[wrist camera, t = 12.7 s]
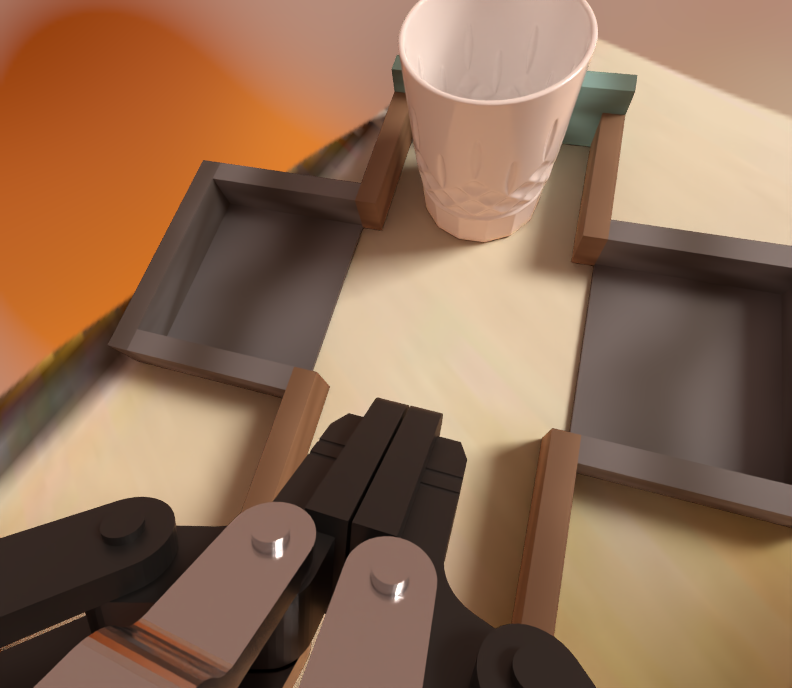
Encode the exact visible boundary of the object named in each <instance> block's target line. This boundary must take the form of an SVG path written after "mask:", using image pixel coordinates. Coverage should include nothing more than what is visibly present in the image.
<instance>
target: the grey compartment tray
mask: <svg viewBox="0 0 792 688" xmlns="http://www.w3.org/2000/svg"><path fill="white" fill-rule="evenodd" d="M392 76H393V82H394V90H395V92H394V95H393V97H392V100H391V103H390V106H389V108H388V111H387V114H386V117H385V119H384V122H383V125H382V128H381V130H380V133H379V136H378V138H377V141H376V144H375V147H374V149H373V152H372V155H371V158H370V160H369V163H368V166H367V169H366V171H365V174H364V177H363V180H362V182H361V183H356V182H349V181H342V180H336V179H329V178H322V177H315V176H308V175H301V174H294V173H288V172H280V171H274V170H267V169H259V168H253V167H246V166H239V165H232V164H225V163H219V162H212V161H205V160H203V162H202V164H201V166H200V167H199V169H198V171H197V173H196V175H195V177H194V179H193V181H192V183H191V185H190V187H189V189H188V191H187V193H186V195H185V197H184V199H183V200H182V202H181V204H180V206H179V208H178V210H177V212H176V214H175V216H174V218H173V220H172V222H171V223H170V226H169V227H168V229H167V231H166V233H165V235H164V237H163V239H162V241H161V243H160V245H159V247H158V249H157V251H156V253H155V254H154V256H153V258H152V260H151V262H150V264H149V266H148V268H147V270H146V272H145V274H144V276H143V278H142V280H141V281H140V283H139V285H138V287H137V289H136V291H135V293H134V295H133V297H132V299H131V301H130V303H129V305H128V306H127V308H126V310H125V312H124V314H123V316H122V318H121V320H120V322H119V324H118V326H117V328H116V330H115V332H114V334H113V335H112V337H111V339H110V341H109V343H108V346H110V347H112V348H114V349H116V350H117V351H119V352H121V353H123V354H125V355H127V356H129V357H131V358H133V359H135V360H137V361H139V362H143V363H147V364H151V365H155V366H159V367H163V368H167V369H171V370H175V371H179V372H182V373H186V374H190V375H194V376H198V377H202V378H206V379H210V380H214V381H218V382H222V383H226V384H230V385H233V386H237V387H241V388H245V389H249V390H253V391H257V392H261V393H265V394H269V395H273V396H277V397H281V398H282V401H281V404H280V407H279V409H278V412H277V415H276V418H275V420H274V423H273V426H272V428H271V431H270V434H269V437H268V439H267V442H266V445H265V448H264V450H263V453H262V456H261V459H260V461H259V464H258V467H257V470H256V472H255V475H254V478H253V480H252V483H251V486H250V489H249V491H248V494H247V497H246V500H245V502H244V505H243V508H242V511H241V513H242V512H244V511H245V510H247V509H249V508H251V507H253V506H256V505H259V504H263V503H268V502H273V500H274V499H275V498H276V496H277V495H278V494H279V492H280V491H281V490H282V488H283V487H284V486H285V484H286V483H287V482H288V480H289V479H290V478H291V476H292V475H293V474H294V472H295V471H296V470H297V468H298V467H299V466H300V464H301V463H302V462H303V460H304V459H305V458H306V456H307V454H308V451H309V448H310V445H311V442H312V439H313V436H314V433H315V430H316V427H317V424H318V421H319V418H320V415H321V412H322V409H323V406H324V403H325V400H326V397H327V394H328V391H329V388H330V386H329V385H328V384H327V383H326V382H325V381H324V379H323V378H322V377H321V376H320V375H319V374H318V373H317V372H315V371H313V369H314V366H315V363H316V360H317V357H318V355H319V352H320V349H321V346H322V343H323V340H324V337H325V335H326V332H327V329H328V326H329V323H330V320H331V317H332V315H333V312H334V309H335V306H336V303H337V300H338V297H339V295H340V292H341V289H342V286H343V283H344V280H345V277H346V275H347V272H348V269H349V266H350V263H351V260H352V257H353V255H354V252H355V249H356V246H357V243H358V240H359V237H360V235H361V232H362V229H363V227H364V228H370V229H376V230H382V229H383V226H384V223H385V220H386V217H387V214H388V211H389V208H390V205H391V202H392V199H393V195H394V192H395V189H396V186H397V183H398V180H399V177H400V174H401V171H402V168H403V165H404V162H405V159H406V156H407V153H408V150H409V147H410V144H411V141H412V132H411V125H410V119H409V112H408V106H407V100H406V93H405V87H404V81H403V75H402V68H401V62H400V56H399V55H397V56H396V59H395V62H394V64H393V67H392ZM636 81H637V75H630V74H618V73H606V72H594V71H587V72H586V75H585V78H584V81H583V84H582V87H581V89H580V92H579V95H578V98H577V101H576V104H575V107H574V110H573V113H572V116H571V118H570V121H569V124H568V127H567V130H566V133H565V136H564V139H563V142H562V144H571V145H580V146H588V147H590V151H589V157H588V163H587V170H586V176H585V182H584V188H583V194H582V200H581V206H580V212H579V218H578V224H577V230H576V236H575V242H574V248H573V254H572V260H571V262H574V263H580V264H586V265H592V266H594V268H593V275H592V282H591V289H590V296H589V303H588V309H587V316H586V323H585V330H584V337H583V344H582V351H581V357H580V364H579V371H578V378H577V385H576V392H575V399H574V405H573V412H572V419H571V426H570V432H567V431H562V430H558V429H554V428H552V429H551V430H550V431H549V432H548V433H547V434H546V435H545V436H544V437H543V438H542V442H541V448H540V454H539V460H538V466H537V472H536V478H535V484H534V490H533V496H532V502H531V508H530V514H529V520H528V526H527V532H526V538H525V544H524V550H523V557H522V563H521V569H520V575H519V581H518V587H517V593H516V599H515V605H514V611H513V617H512V623H511V624H517V623H518V624H527V625H530V626H534V627H537V628H539V629H541V630H543V631H545V632H547V633H549V634H550V635H552V636H554V631H555V624H556V617H557V610H558V602H559V595H560V588H561V580H562V573H563V566H564V558H565V551H566V544H567V537H568V529H569V522H570V515H571V507H572V500H573V493H574V485H575V478H576V473H579V474H583V475H587V476H591V477H595V478H599V479H603V480H606V481H610V482H614V483H618V484H622V485H626V486H630V487H634V488H638V489H642V490H646V491H650V492H654V493H658V494H661V495H665V496H669V497H673V498H677V499H681V500H685V501H689V502H693V503H697V504H701V505H705V506H709V507H712V508H716V509H720V510H724V511H728V512H732V513H736V514H740V515H744V516H748V517H752V518H756V519H760V520H764V521H767V522H771V523H775V524H779V525H783V526H787V527H791V528H792V246H788V245H781V244H775V243H768V242H761V241H754V240H747V239H740V238H733V237H727V236H720V235H713V234H706V233H699V232H692V231H685V230H679V229H672V228H665V227H658V226H651V225H644V224H637V223H630V222H624V221H617V220H611V215H612V208H613V201H614V193H615V186H616V179H617V172H618V164H619V157H620V150H621V142H622V135H623V128H624V120H625V114H626V112H627V110H628V107H629V105H630V103H631V100H632V98H633V95H634V93H635V89H636ZM241 513H240V514H241Z"/></svg>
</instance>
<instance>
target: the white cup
mask: <svg viewBox="0 0 792 688" xmlns="http://www.w3.org/2000/svg"><path fill="white" fill-rule="evenodd" d="M597 37H598V28H597V21H596V18H595V15H594V12H593V10H592V9H591V7H590V5H589V4H588V3H587V1H586V0H419V1H418V2H417V3H416V4H415V5H414V7H413V8H412V9H411V10H410V12H409V13H408V14H407V16H406V18H405V19H404V22H403V24H402V26H401V29H400V32H399V38H398V50H399V56H400V62H401V68H402V75H403V81H404V87H405V93H406V100H407V106H408V112H409V119H410V125H411V132H412V138H413V144H414V148H415V153H416V159H417V164H418V169H419V172H420V176H421V179H422V183H423V189H424V197H425V204H426V208H427V210H428V212H429V213H430V215H431V216H432V218H433V219H434V221H435V223H436V224H437V226H438V227H440V228H441V229H443V230H445V231H446V232H448V233H450V234H452V235H453V236H455V237H457V238H458V239H464V240H472V241H480V242H487V241H491V240H495V239H499V238H503V237H507V236H510V235H512V234H513V233H514V232H516V231H517V230H518V229H519V228H521V227H522V226H523V225H525V224H526V223H527V222H528V221H530V219H531V217H532V215H533V213H534V210H535V208H536V206H537V204H538V201H539V199H540V196H541V193H542V190H543V187H544V184H545V183H546V182H547V180H548V178H549V176H550V173H551V170H552V167H553V164H554V162H555V161H556V158H557V155H558V153H559V150H560V147H561V144H562V142H563V139H564V136H565V133H566V130H567V127H568V124H569V121H570V118H571V116H572V113H573V110H574V107H575V104H576V101H577V98H578V95H579V92H580V89H581V87H582V84H583V81H584V78H585V75H586V72H587V70H588V67H589V64H590V61H591V58H592V55H593V53H594V50H595V47H596V43H597Z"/></svg>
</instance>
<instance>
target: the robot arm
mask: <svg viewBox="0 0 792 688" xmlns="http://www.w3.org/2000/svg"><path fill="white" fill-rule="evenodd" d="M442 419H443V414H442V413H438V412H434V411H430V410H426V409H422V408H418V407H414V406H410V407H409V405H405V404H401V403H397V402H393V401H389V400H385V399H381V398H376V399H375V400H374V402H373V403H372V405H371V406H370V408H369V410H368V411H367V413H366V414H365V416H364V417H361V416H357V415H353V414H350V413H349V414H347V415H345V416H343V417H342V418H340V419H338V420H336V421H335V422H333V423H331V424H330V425H329V427H328V428H327V429H326V431H325V432H324V433H323V435H322V436H321V437H320V440H319V442H318V441H317V443H316V444H315V445H314V447H313V448H312V450H311V451H310V454H308V455H307V456H306V458H305V459H304V460H303V462H302V463H301V464H300V466H299V467H298V468H297V470H296V471H295V472H294V474H293V475H292V476H291V478H290V479H289V480H288V482H287V483H286V484H285V486H284V487H283V488H282V490H281V491H280V492H279V494H278V495H277V496H276V498H275V499H274V500H273V502H268V503H263V504H259V505H256V506H253V507H251V508H249V509H247V510H245V511H244V512H242V513H241V514H239V515H238V516H237V517H236V518H235V519H234V520H233V521H232V522H231V523H230V524H229V525H228V526H217V527H211V526H176V522H175V516H174V513H173V511H172V509H171V508H170V506H169V505H168V504H166V503H165V502H163V501H161V500H158V499H155V498H150V497H133V498H127V499H123V500H119V501H116V502H113V503H109V504H106V505H103V506H100V507H97V508H94V509H91V510H88V511H84V512H81V513H78V514H75V515H72V516H69V517H66V518H62V519H59V520H56V521H53V522H50V523H47V524H44V525H41V526H37V527H34V528H31V529H28V530H25V531H22V532H19V533H15V534H12V535H9V536H6V537H3V538H0V648H1V647H3V646H6V645H8V644H11V643H13V642H15V641H18V640H20V639H22V638H25V637H27V636H29V635H32V634H34V633H37V632H39V631H41V630H44V629H46V628H48V627H51V626H53V625H55V624H58V623H60V622H63V621H65V620H67V619H70V618H72V617H74V616H77V615H79V614H81V613H84V612H85V613H86V616H84V617H81V618H79V619H77V620H74V621H72V622H70V623H67V624H65V625H63V626H60V627H58V628H56V629H53V630H51V631H49V632H46V633H44V634H41V635H39V636H37V637H34V638H32V639H30V640H27V641H25V642H23V643H20V644H18V645H16V646H13V647H11V648H9V649H6V650H4V651H1V652H0V688H293V686H294V684H295V682H296V680H297V678H298V676H299V675H300V673H301V671H302V669H303V667H304V665H305V663H306V661H307V659H308V657H309V654H310V650H311V643H312V639H313V637H314V635H315V633H316V631H317V628H318V626H319V624H320V622H321V620H322V618H323V615H324V613H325V614H326V615H325V618H324V621H323V623H322V626H321V629H320V632H319V634H318V637H317V640H316V642H315V645H314V648H313V651H312V653H311V656H310V659H309V661H308V664H307V667H306V670H305V672H304V675H303V678H302V680H301V683H300V686H299V688H596V687H595V685H594V684H593V682H592V681H591V679H590V678H589V677H588V675H587V674H586V672H585V671H584V669H583V668H582V666H581V665H580V664H579V662H578V661H577V659H576V658H575V657H574V656H573V654H572V653H571V652H570V651H569V650H568V649H567V648H566V647H565V646H564V645H563V644H562V643H561V642H560V641H559V640H557V639H556V638H555V637H554V636H552V635H550V634H549V633H547V632H545V631H543V630H541V629H539V628H537V627H534V626H530V625H527V624H518V623H517V624H507V625H503V626H500V627H498V628H496V629H495V628H493V627H492V626H491V625H489V624H488V623H486V622H485V621H483V620H482V619H481V618H479V617H478V616H476V615H475V614H473V613H472V612H471V611H470V610H468V609H467V608H466V607H465V606H464V605H463V604H462V603H461V602H460V601H459V600H458V598H457V597H456V596H455V594H454V593H453V591H452V590H451V588H450V586H449V584H448V581H447V579H446V575H445V571H444V561H445V557H446V553H447V548H448V544H449V540H450V535H451V531H452V527H453V522H454V518H455V513H456V509H457V504H458V500H459V495H460V490H461V486H462V481H463V476H464V472H465V467H466V463H467V458H466V455H465V453H464V450H463V447H462V444H461V442H458V441H454V440H450V439H446V438H443V437H439V436H440V431H441V425H442Z"/></svg>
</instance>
